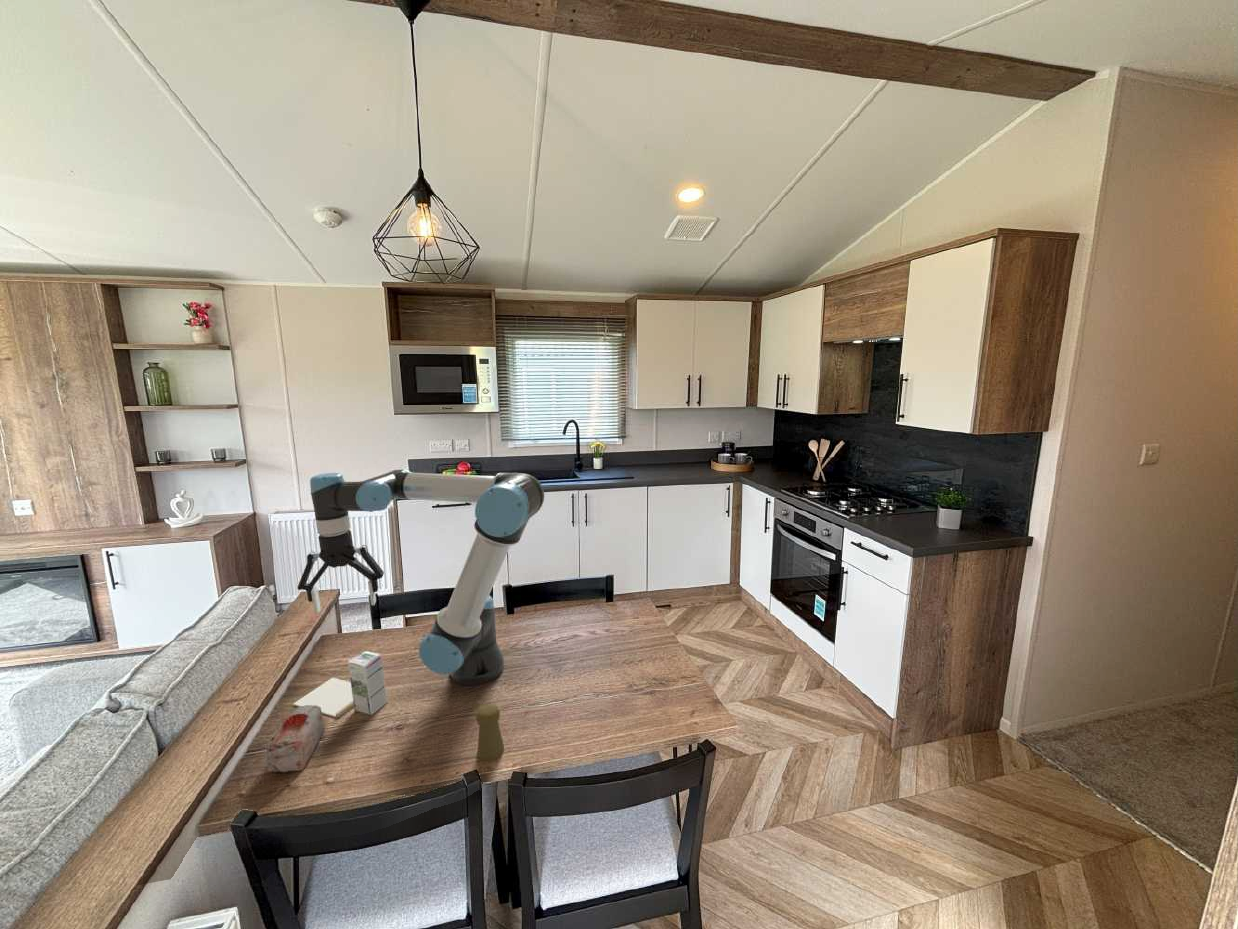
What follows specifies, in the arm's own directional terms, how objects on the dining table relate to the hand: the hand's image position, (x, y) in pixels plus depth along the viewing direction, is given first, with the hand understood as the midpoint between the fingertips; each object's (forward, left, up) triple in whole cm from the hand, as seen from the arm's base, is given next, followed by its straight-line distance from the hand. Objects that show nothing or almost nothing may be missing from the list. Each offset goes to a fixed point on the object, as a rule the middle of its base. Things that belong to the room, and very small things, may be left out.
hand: (346, 607), depth 133 cm
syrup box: (-10, +5, -25) cm, 27 cm away
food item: (-7, +23, -25) cm, 34 cm away
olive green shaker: (-49, +8, -25) cm, 55 cm away
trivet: (+2, +5, -24) cm, 25 cm away
